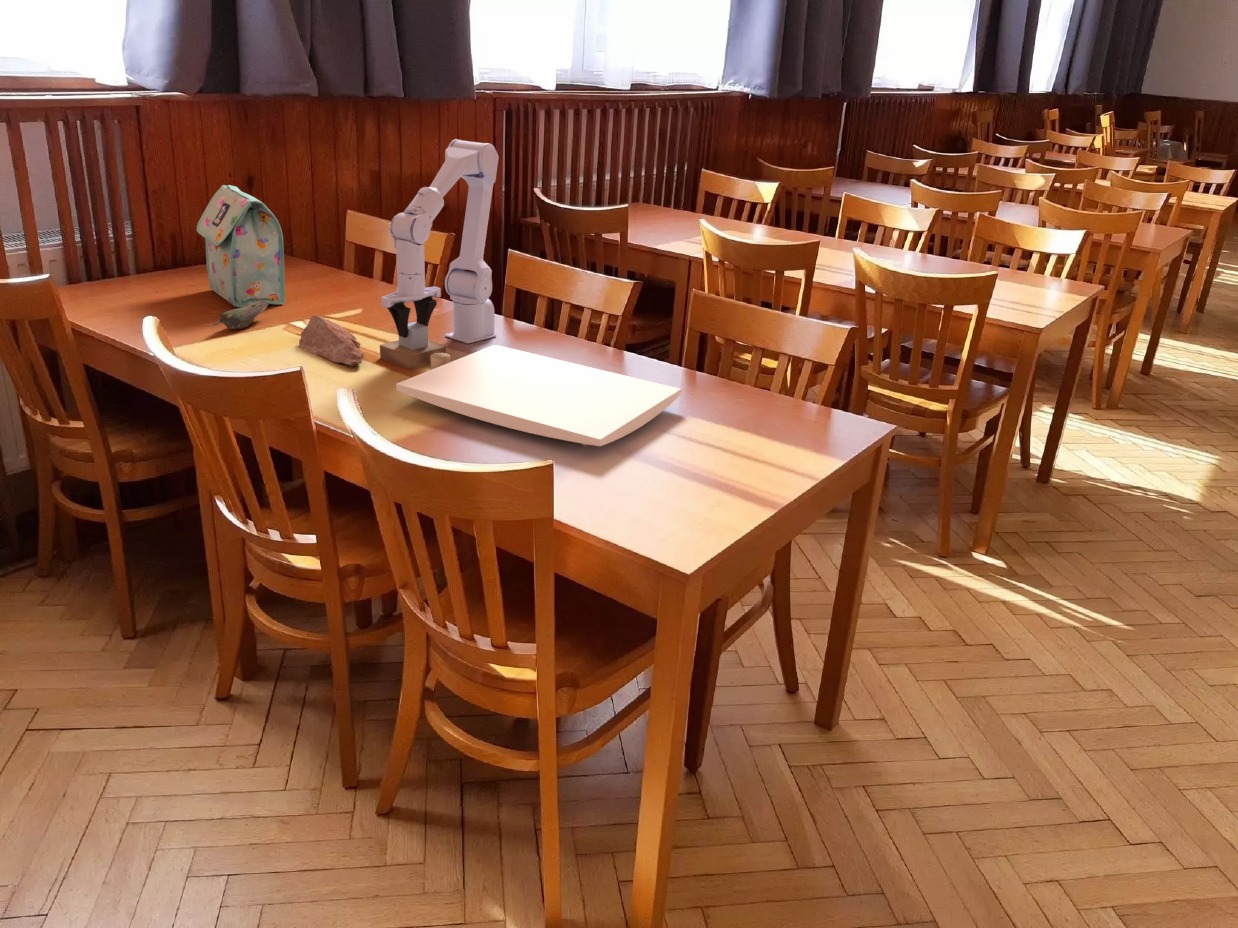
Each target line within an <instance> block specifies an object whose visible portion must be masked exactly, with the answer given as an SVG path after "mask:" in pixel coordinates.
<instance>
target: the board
mask: <svg viewBox="0 0 1238 928" xmlns="http://www.w3.org/2000/svg"><path fill="white" fill-rule="evenodd" d="M395 386H396V387H395V390H396V391H398V392H400V393H402V394H405V395H408V396H411V397H413V398H415V399H417V400H420V401H422V402H426V403H428V404H431V405H434V406H436V407H439V408H442V409H445V410H448V411H451V412H454V413H457V414H461V415H464V416H466V417H470V418H471V419H472V418H473V419H475V420H476V419H477V420H480V421H483V422H487V423H490V424H493V425H497V426H501V427H505V428H508V429H513V430H517V431H521V432H524V433H529V434H533V435H538V436H541V437H547V438H552V439H557V440H561V441H567V442H572V443H577V444H581V445H582V444H583V445H582V446H586V445H587V446H595V447H602V446H606V445H607V444H610V443H613V442H615V441H617V440H619V439H621V438H623V437H625V436H627V435H629V434H631V433H633V432H634V431H636V430H638V429H640V428H641V427H643V426H644V425H645V424H648V422H650V421H651V420H653V419H654V418H656V417H657V416H658V415H659V414H661V413H662V412H664V411H665V409H667V408H668V407H670V405H671V404H673V403H674V401H676V400H677V399H678V398H679V397H680V396H681V395H682V388H680V387H674V386H670V385H667V384H662V383H658V382H654V381H650V380H645V379H641V378H637V377H634V376H633V377H632V376H628V375H624V374H622V373H621V374H620V373H616V372H612V371H607V370H604V369H599V368H595V367H590V366H586V365H583V364H578V363H574V362H570V361H565V360H561V359H557V358H553V357H548V356H546V355H545V356H544V355H541V354H536V353H532V352H528V351H524V350H519V349H516V348H510V347H507V346H503V345H500V344H499V345H498V344H493V345H490V346H488V347H485V348H482V349H479V350H477V351H476V352H472V353H470V354H468V355H465V356H462V357H460V358H457V359H454V360H452V361H450V363H447V364H445V365H442V366H440V367H437V368H435V369H432V370H431V369H430V370H428V371H424V372H422V373H420V374H418V375H415V376H412V377H410V378H408V379H405V380H402V381H400V382H397V383H395Z"/></svg>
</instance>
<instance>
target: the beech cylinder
mask: <svg viewBox="0 0 1238 928" xmlns="http://www.w3.org/2000/svg"><path fill="white" fill-rule="evenodd" d="M450 362H451V354H449V353H447V352H446V353H434V354H431V364H430V370H432V369H435V368H437V367H440V366H442V365H445V364H447V363H450Z"/></svg>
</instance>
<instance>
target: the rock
mask: <svg viewBox="0 0 1238 928" xmlns="http://www.w3.org/2000/svg"><path fill="white" fill-rule="evenodd" d="M298 344H299V348H300V349H302V350H304V349H306V350H307V351H306V350H305V351H306V352H309V351H310V352H309V353H311V354H312V355H314V354H315V356H317V357H321V358H324V359H327V360H328V361H331V362H333V363H338V364H339V363H341V364H344V365H349V366H350V367H353V366H355V365H358V364H362V362H363V357H362V356H364V355H365V354H364V353H363V351H362V350H361V349H360V348H361V347H360V346H361V343H360V342H358V341H357V338H356V337H355V335H354V334H352V333H351V332H350V331H349V330H348V329H346V328H345V327H343V326H341V325H340V324H338V323H336V322H333V321H331V320H329V319H327V318H325V317H323V316H321V315H312V316H310V319H309V321H308V323H307V325H306V326H305V328H304V329H303V330H302V332H301V334H300V339H299V342H298Z"/></svg>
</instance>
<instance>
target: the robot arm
mask: <svg viewBox="0 0 1238 928" xmlns="http://www.w3.org/2000/svg"><path fill="white" fill-rule="evenodd" d="M444 153H445V154H444V159H445V161H444V162H443V164H442V166H441V167H440V169H439V170H438V172H437V173H436V176H435V177H434V179H433V180H432V182H431V184H430V185H429V187H428V186H423V187H421V188H420V189H419V190H418V191H417V194H416V195H415V196H414V198H413V199H412V201H411V202H410V203H409V204H408V206H406V208H405V209H404V211H403V212H399V213H397V214H396V215H394V216H393V218H392V219H391V221H390V226H389V228H388V229H389V230H388V231H389V234H390V237H391V238H392V241H393V247H394V249H395V251H396V253H395V254H396V274H397V288H396V291H393V292H392V293H390V294H387V295H384V296H380V299H381V301H380V302H381V303H380V304H381V305H380V306H381V307H384V308H386V309H387V310H388V311H389V314H390V315H391V317H392V319H393V322H394V324H395V327H396V330H397V335H398V337H399V336H401V337H404V338H406V337H407V335H408V323H409V316H410V313H411V307H408V306H407V305H406V303H410V302H413V304H414V308H415V314H416V323H419V324H422V325H425V326H428V327H429V323H430V319H431V317H432V314H433V312H434V310H435V308H436V307H437V304H438V303H437V299H433V298H441V296H442V295H441V294H442V292H441V291H442V290H441V287H438V286H429V287H426V272H425V271H426V269H425V267H426V266H425V243H426V241H428V239H429V238H430V236H431V235H430V234H431V229H432V227H433V221H434V220H435V218H436V217H437V216H438V214H439V213H440V212H441V210H442V209H443V208H444V206H445V200H444V197H445V196H446V194H447V193H448V192H449V191H450V190H451V188H453V186H454V185H456V183H457V182H458V181H459V180H460V178H462V179H463V180H464V181H465V182H466V184H467V185H468V191H467V197H466V198H467V199H466V208H465V215H464V221H463V229H462V236H461V244H460V252H459V256H458V257H457V258H455V259H454V260H452V261H451V262H449V267H448V272H447V274H446V276H445V279H444V288H445V291H446V294H448V295H449V296H450V297H449V300H452V332H449V333H448V332H447V333H446V334H445V337H447V338H449V339H453V340H455V341H458V342H462V343H465V344H472V343H476V342H480V341H483V340H487V339H488V340H489V339H491V338H496V337H497V336H498V335H497V334H496V333H495V307H494V304H493V302H492V300H491V299H489V298H490V297H491V295H492V292H493V282H492V281H493V280H492V274H493V273H492V272H493V270H492V269H491V267H490V266H489V265H488V263H486V262H485V260H484V254H485V247H486V239H487V234H488V233H487V231H488V225H489V219H490V210H491V203H492V195H493V191H494V190H493V188H494V184H495V183H496V181H497V171H498V164H499V157H500V156H499V155H498V152H497V150H496V148H495V146H494V144H491V143H489V142H488V143H487V142H485V143H483V142H477V141H468V140H461V139H457V138H455V139H453V140H452V141H451V142H449V144H448V147H446V148H445V152H444ZM467 270H469V271H467Z"/></svg>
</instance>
